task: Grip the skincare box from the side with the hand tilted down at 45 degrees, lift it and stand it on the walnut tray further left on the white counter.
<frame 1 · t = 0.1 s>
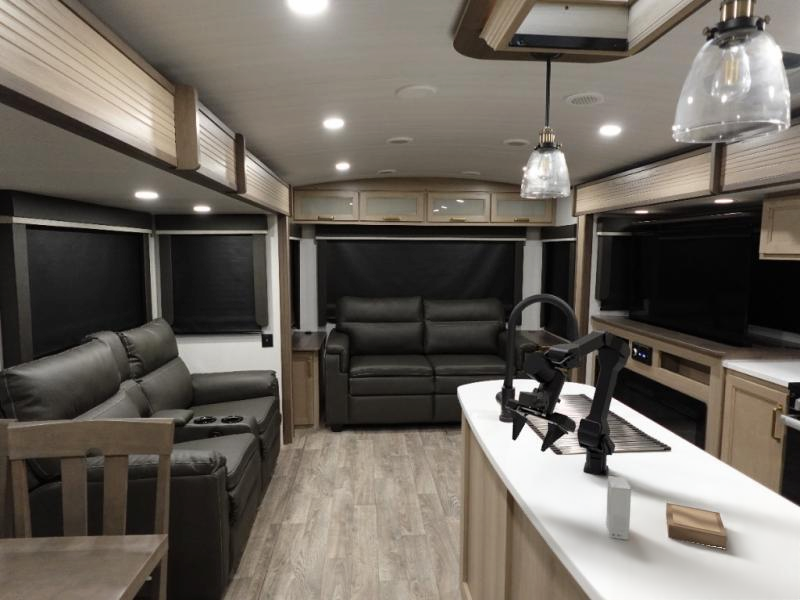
hand: (527, 445, 126), 15 cm above the table, tool tilted 35°, fingers open, 9 cm apart
walnut tray: (694, 530, 114), on the table
skincare box: (617, 532, 113), on the table
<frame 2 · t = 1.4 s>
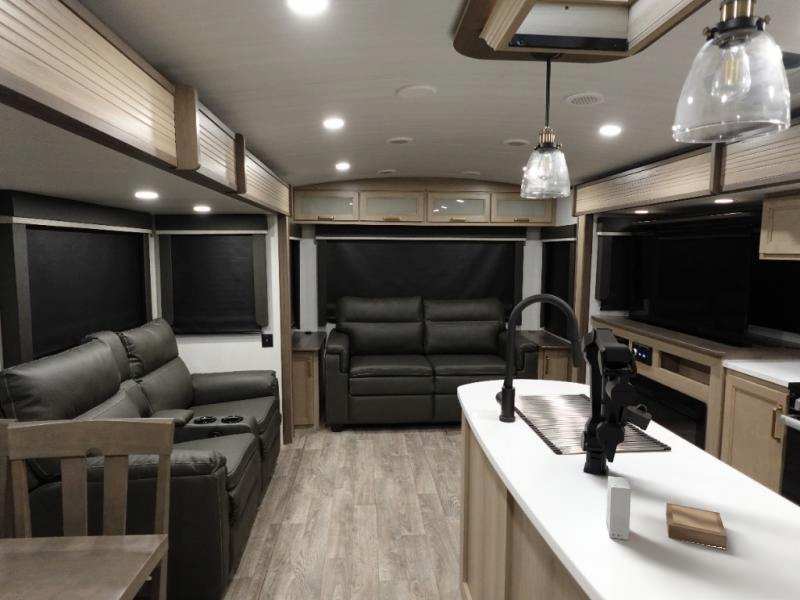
hand: (612, 455, 125), 13 cm above the table, tool pointing down, fingers open, 9 cm apart
nothing on the table moved.
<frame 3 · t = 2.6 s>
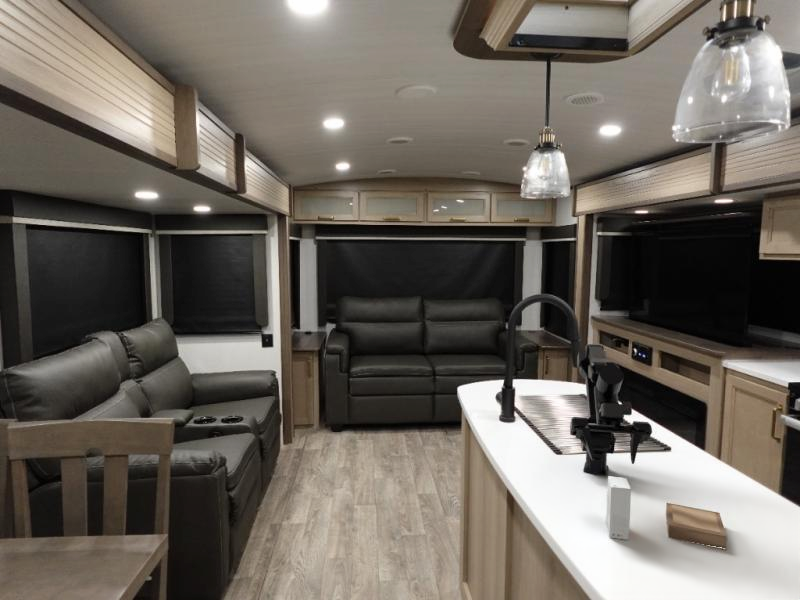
hand: (612, 461, 120), 13 cm above the table, tool tilted 45°, fingers open, 9 cm apart
nothing on the table moved.
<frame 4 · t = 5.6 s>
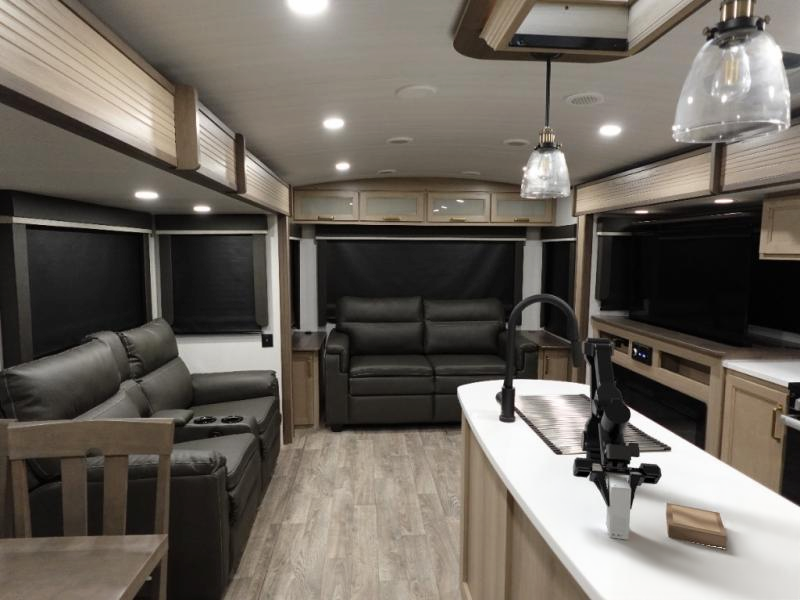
hand: (619, 507, 111), 7 cm above the table, tool tilted 45°, fingers closed on skincare box, 4 cm apart
skincare box: (617, 532, 113), on the table, touching gripper
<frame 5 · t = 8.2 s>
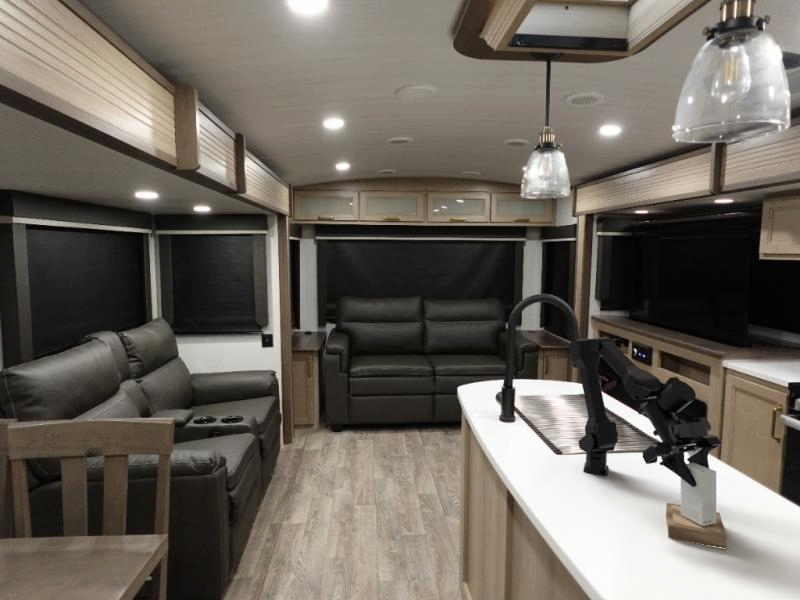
hand: (702, 484, 111), 12 cm above the table, tool tilted 45°, fingers closed on skincare box, 4 cm apart
skincare box: (698, 520, 112), point 3 cm above the table, touching gripper, walnut tray
when the fingers open (11 cm above the table, at t = 8.6 s): skincare box stays where it is, resting on walnut tray.
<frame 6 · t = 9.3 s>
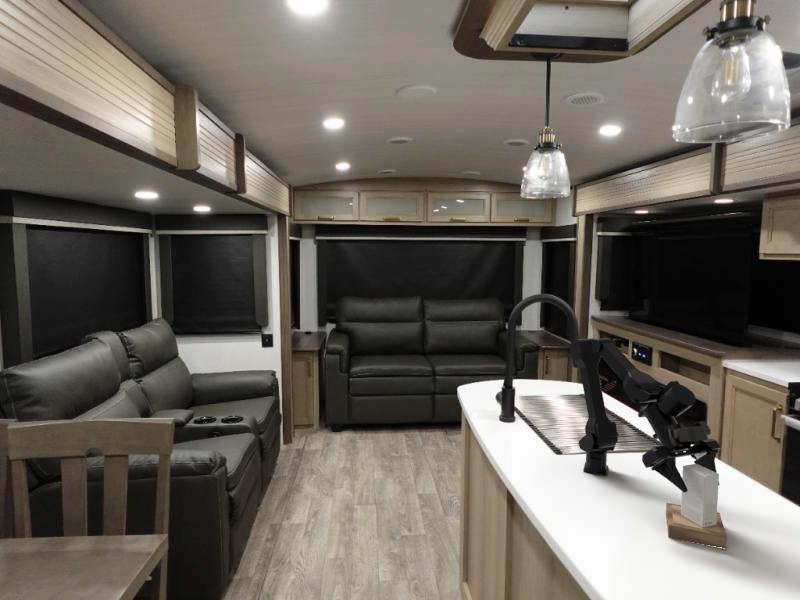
hand: (702, 488, 111), 11 cm above the table, tool tilted 45°, fingers open, 9 cm apart
skincare box: (698, 520, 113), point 3 cm above the table, touching walnut tray
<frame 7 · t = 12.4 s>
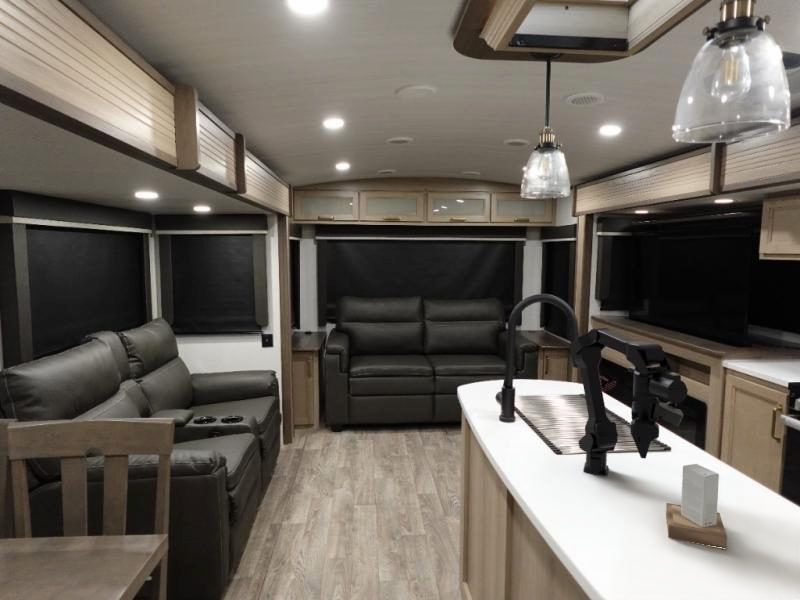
hand: (643, 451, 127), 13 cm above the table, tool pointing down, fingers open, 9 cm apart
nothing on the table moved.
at the end: skincare box inside the target area on the walnut tray (0.9 cm from its centre), point 2.9 cm above the walnut tray's base; skincare box tilted 0°; the gripper is holding nothing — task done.
